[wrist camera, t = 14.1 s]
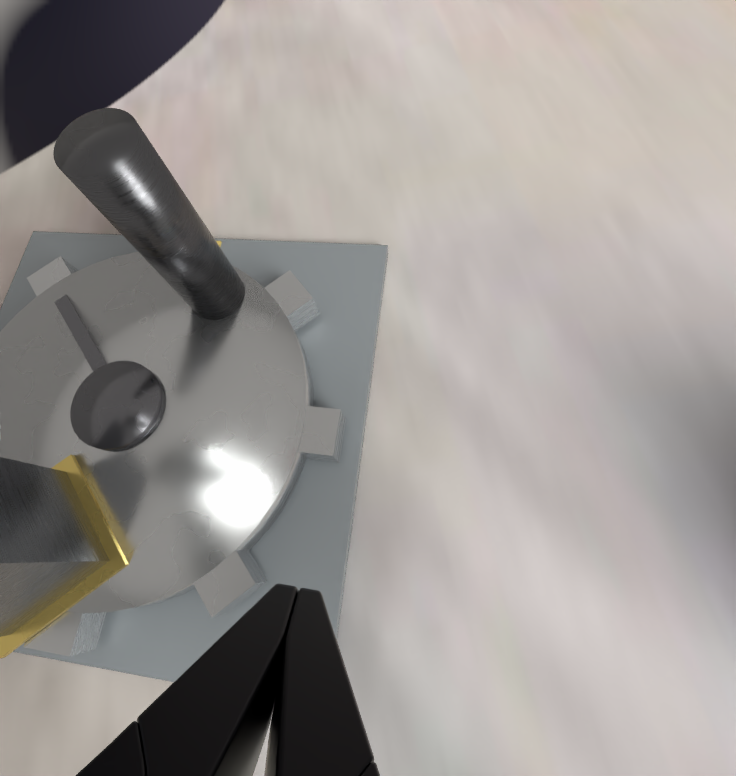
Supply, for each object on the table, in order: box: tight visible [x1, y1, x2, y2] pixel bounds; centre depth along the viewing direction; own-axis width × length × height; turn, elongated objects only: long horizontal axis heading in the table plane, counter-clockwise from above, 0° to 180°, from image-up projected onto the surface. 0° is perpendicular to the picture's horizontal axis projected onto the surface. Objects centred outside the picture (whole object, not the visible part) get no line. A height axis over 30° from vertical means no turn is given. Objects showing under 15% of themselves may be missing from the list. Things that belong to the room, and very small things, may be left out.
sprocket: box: [0, 108, 346, 658], centre depth 16 cm, size 18×18×10 cm
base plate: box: [0, 231, 388, 682], centre depth 21 cm, size 19×19×1 cm
